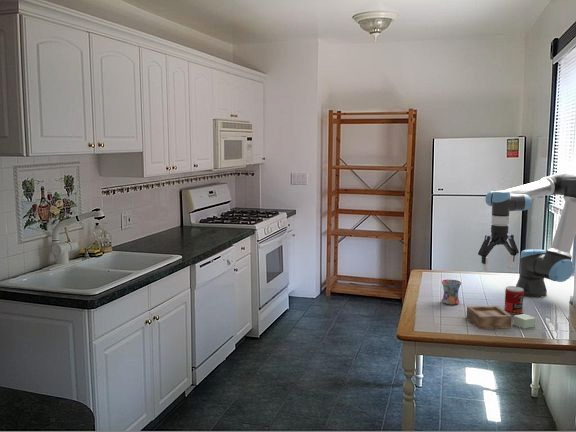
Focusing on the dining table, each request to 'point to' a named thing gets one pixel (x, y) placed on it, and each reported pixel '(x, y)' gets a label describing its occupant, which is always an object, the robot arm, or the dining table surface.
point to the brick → (524, 321)
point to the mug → (450, 291)
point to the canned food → (514, 299)
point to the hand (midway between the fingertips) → (497, 269)
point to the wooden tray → (489, 317)
